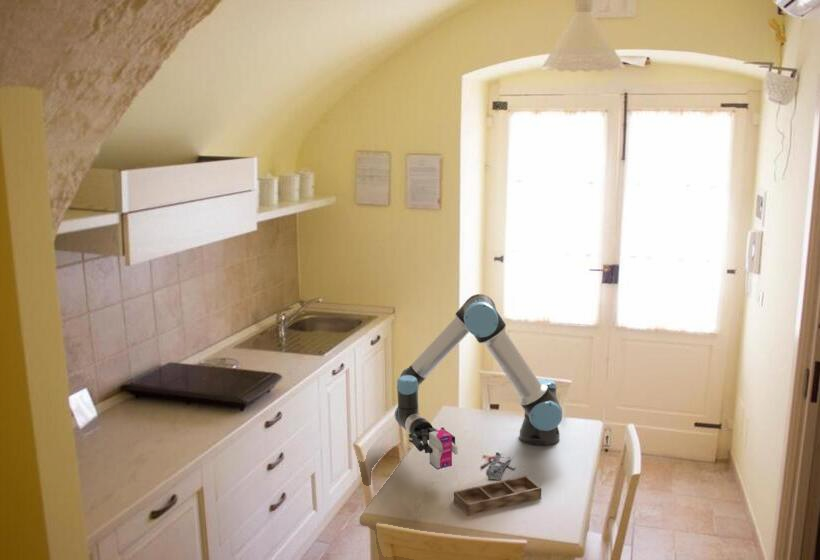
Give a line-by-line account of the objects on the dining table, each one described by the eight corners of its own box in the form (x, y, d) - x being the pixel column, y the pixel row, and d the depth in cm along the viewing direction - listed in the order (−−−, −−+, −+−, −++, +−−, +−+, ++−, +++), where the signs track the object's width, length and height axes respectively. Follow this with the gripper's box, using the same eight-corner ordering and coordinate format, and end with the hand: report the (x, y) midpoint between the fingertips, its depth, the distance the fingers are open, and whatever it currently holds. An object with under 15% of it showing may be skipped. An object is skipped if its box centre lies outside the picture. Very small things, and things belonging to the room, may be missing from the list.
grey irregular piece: (499, 483, 262) (499, 477, 261) (480, 480, 264) (480, 474, 264) (514, 459, 281) (514, 453, 280) (496, 456, 283) (496, 450, 282)
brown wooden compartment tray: (525, 485, 259) (525, 475, 258) (541, 498, 250) (541, 488, 249) (453, 501, 249) (453, 491, 248) (467, 515, 240) (467, 505, 239)
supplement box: (437, 470, 256) (436, 438, 254) (429, 463, 261) (428, 431, 259) (452, 466, 259) (452, 434, 256) (444, 459, 264) (443, 428, 261)
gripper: (443, 432, 279) (473, 457, 258) (394, 442, 272) (421, 469, 251) (443, 413, 277) (472, 436, 257) (393, 422, 270) (420, 447, 249)
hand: (447, 452), depth 254 cm, fingers closed on supplement box, 6 cm apart
